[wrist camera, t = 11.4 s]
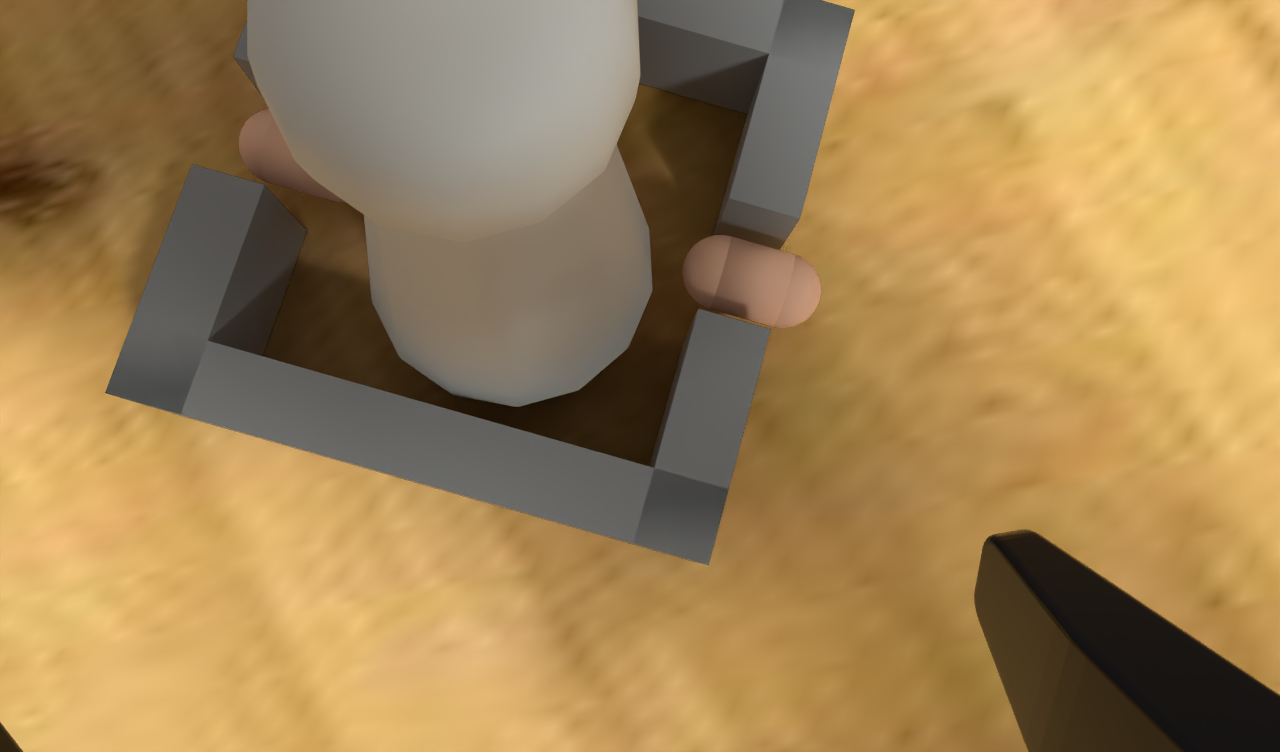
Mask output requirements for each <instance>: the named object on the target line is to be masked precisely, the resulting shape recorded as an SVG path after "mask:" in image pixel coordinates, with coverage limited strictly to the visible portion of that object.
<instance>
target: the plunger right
mask: <svg viewBox="0 0 1280 752" xmlns="http://www.w3.org/2000/svg"><path fill="white" fill-rule="evenodd" d="M683 280H684V284H685V287H686V289H687V291H688V293H689V294H690V296H691V297H692V298H693V299H694V300H695V301H696V302H698V303H699V304H701V305H702V306H704V307H707V308H709V309H713V310H716V311H720V312H723V313H727V314H730V315H734V316H737V317H741V318H744V319H748V320H751V321H755V322H758V323H762V324H765V325H769V326H772V327H778V328H788V327H793V326H796V325H798V324H801V323H802V322H804V321H805V320H807V319H808V318H809V317H810V316H811V315H812V314H813V313H814V311H815V309H816V308H817V306H818V304H819V301H820V297H821V284H820V279H819V277H818V274H817V272H816V271H815V269H814V268H813V266H812V265H811V264H810V263H809V262H808V261H806V260H805V259H803V258H802V257H800V256H797V255H795V254H791V253H788V252H784V251H781V250H777V249H774V248H770V247H767V246H763V245H760V244H756V243H753V242H749V241H746V240H742V239H739V238H735V237H732V236H727V235H714V236H710V237H707V238H705V239H702V240H701V241H699V242H698V243H696V244H695V245H694V246H693V247H692V248H691V249H690V251H689V253H688V254H687V256H686V258H685V261H684V265H683Z"/></svg>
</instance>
